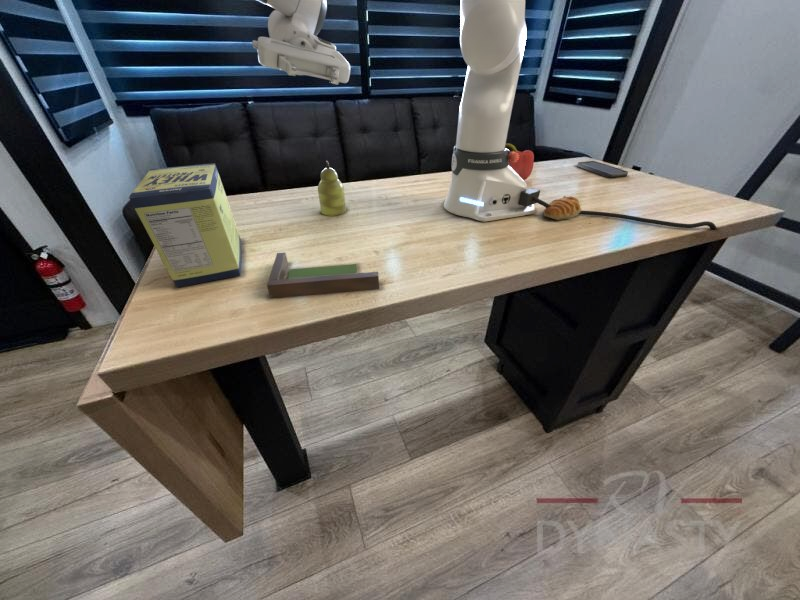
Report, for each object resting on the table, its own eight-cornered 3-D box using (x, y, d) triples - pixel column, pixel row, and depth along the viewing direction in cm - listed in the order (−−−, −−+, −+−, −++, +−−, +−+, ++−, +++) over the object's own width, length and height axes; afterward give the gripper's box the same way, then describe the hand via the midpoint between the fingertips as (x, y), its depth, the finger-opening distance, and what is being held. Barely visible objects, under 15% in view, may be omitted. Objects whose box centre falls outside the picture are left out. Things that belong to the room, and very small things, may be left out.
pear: (346, 205, 83) (340, 156, 76) (346, 214, 78) (340, 163, 71) (321, 207, 82) (314, 157, 75) (320, 216, 77) (312, 164, 70)
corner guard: (373, 257, 61) (373, 246, 60) (379, 288, 53) (378, 276, 52) (280, 264, 59) (276, 252, 58) (270, 298, 51) (266, 285, 50)
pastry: (561, 224, 73) (566, 208, 71) (535, 215, 77) (539, 200, 75) (581, 214, 78) (586, 199, 76) (555, 206, 82) (560, 192, 80)
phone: (610, 174, 100) (576, 162, 112) (609, 178, 101) (575, 165, 113) (630, 172, 102) (594, 160, 114) (628, 175, 103) (593, 163, 114)
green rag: (356, 264, 59) (356, 264, 59) (357, 284, 54) (357, 284, 54) (289, 270, 58) (289, 269, 58) (284, 291, 53) (284, 290, 53)
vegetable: (487, 179, 100) (493, 145, 94) (506, 173, 106) (512, 140, 100) (518, 188, 94) (526, 151, 88) (536, 180, 99) (545, 145, 93)
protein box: (241, 239, 68) (215, 161, 58) (242, 276, 56) (210, 187, 47) (186, 248, 64) (149, 167, 55) (175, 289, 53) (126, 196, 44)
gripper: (249, 21, 68) (263, 46, 61) (340, 45, 78) (360, 69, 71) (250, 56, 72) (263, 83, 66) (336, 74, 83) (354, 99, 76)
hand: (314, 76), depth 69 cm, fingers open, 8 cm apart
